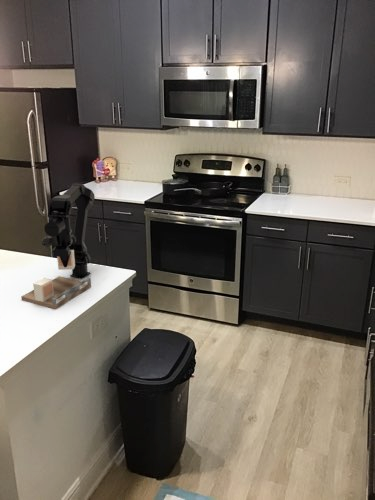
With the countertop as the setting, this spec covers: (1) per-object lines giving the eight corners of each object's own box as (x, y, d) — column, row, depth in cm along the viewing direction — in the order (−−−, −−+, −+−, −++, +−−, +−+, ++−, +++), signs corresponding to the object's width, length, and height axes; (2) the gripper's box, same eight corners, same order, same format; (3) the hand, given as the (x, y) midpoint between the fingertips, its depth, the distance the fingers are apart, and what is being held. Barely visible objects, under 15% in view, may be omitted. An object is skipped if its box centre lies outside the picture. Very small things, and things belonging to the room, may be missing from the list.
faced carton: (35, 299, 168) (33, 283, 165) (46, 293, 173) (44, 277, 171) (43, 302, 166) (41, 285, 164) (54, 295, 171) (52, 279, 169)
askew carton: (60, 265, 181) (58, 250, 178) (75, 265, 181) (73, 249, 178) (58, 269, 176) (56, 253, 174) (73, 269, 177) (71, 253, 174)
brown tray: (59, 279, 190) (58, 270, 188) (91, 287, 183) (90, 278, 181) (21, 299, 171) (20, 290, 170) (55, 309, 164) (54, 299, 163)
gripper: (47, 221, 181) (51, 256, 186) (36, 236, 163) (40, 274, 169) (75, 221, 182) (77, 256, 187) (66, 236, 164) (69, 273, 170)
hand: (66, 264), depth 178 cm, fingers closed on askew carton, 4 cm apart
